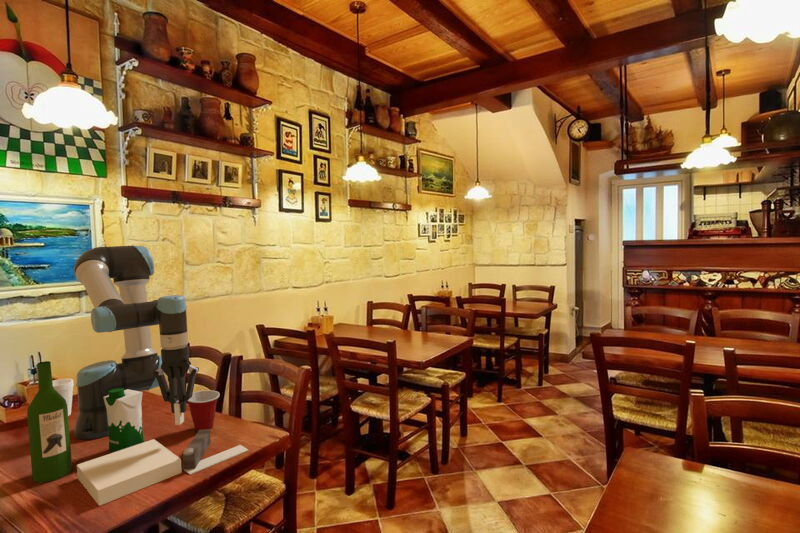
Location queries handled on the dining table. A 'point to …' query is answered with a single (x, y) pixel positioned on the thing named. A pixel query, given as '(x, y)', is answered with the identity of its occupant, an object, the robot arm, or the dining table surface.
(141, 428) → the milk carton
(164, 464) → the cream flat square box
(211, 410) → the plastic cup
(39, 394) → the wine bottle
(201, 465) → the mat
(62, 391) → the foam cup
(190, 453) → the dark grey block
